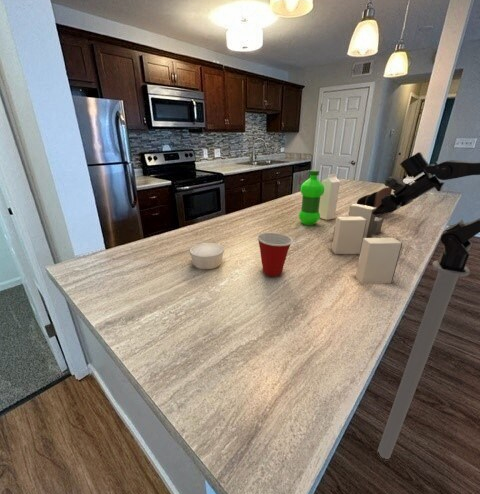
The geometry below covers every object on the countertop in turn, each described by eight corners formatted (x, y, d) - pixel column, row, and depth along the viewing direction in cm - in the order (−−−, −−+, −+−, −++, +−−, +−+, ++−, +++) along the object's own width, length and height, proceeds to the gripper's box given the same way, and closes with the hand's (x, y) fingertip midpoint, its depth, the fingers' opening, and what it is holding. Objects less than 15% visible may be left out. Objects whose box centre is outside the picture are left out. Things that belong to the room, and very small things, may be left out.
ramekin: (187, 258, 91) (186, 245, 89) (218, 254, 95) (218, 240, 93) (194, 274, 82) (193, 259, 80) (228, 268, 85) (228, 253, 83)
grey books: (380, 231, 117) (383, 218, 115) (353, 247, 101) (356, 232, 98) (360, 226, 123) (363, 214, 121) (332, 240, 107) (334, 226, 105)
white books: (355, 249, 99) (361, 216, 94) (391, 283, 77) (402, 243, 72) (331, 249, 99) (336, 216, 94) (361, 284, 77) (370, 243, 72)
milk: (317, 217, 136) (322, 173, 128) (325, 215, 139) (331, 172, 130) (326, 220, 131) (332, 175, 123) (335, 218, 134) (341, 174, 126)
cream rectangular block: (370, 237, 110) (377, 207, 105) (366, 240, 107) (372, 209, 102) (349, 231, 116) (354, 203, 111) (345, 234, 114) (350, 205, 109)
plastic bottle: (298, 219, 132) (303, 168, 123) (320, 221, 129) (327, 169, 119) (295, 225, 124) (300, 171, 114) (318, 228, 120) (326, 172, 111)
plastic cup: (297, 275, 81) (301, 239, 77) (268, 284, 76) (271, 247, 72) (276, 261, 90) (278, 228, 85) (249, 268, 85) (250, 234, 80)
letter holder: (387, 211, 146) (393, 185, 141) (372, 218, 134) (378, 191, 128) (369, 207, 153) (374, 183, 148) (354, 214, 141) (358, 188, 135)
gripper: (412, 167, 99) (375, 191, 111) (393, 172, 87) (355, 198, 99) (430, 191, 97) (391, 213, 108) (414, 199, 85) (372, 223, 97)
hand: (378, 211), depth 103 cm, fingers open, 9 cm apart
